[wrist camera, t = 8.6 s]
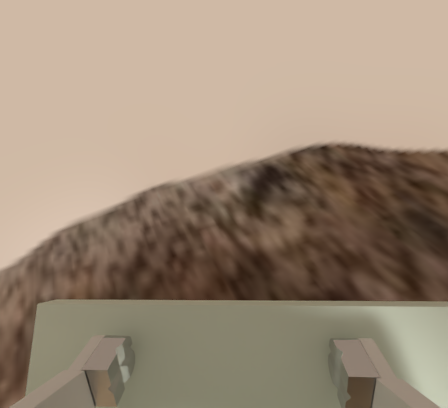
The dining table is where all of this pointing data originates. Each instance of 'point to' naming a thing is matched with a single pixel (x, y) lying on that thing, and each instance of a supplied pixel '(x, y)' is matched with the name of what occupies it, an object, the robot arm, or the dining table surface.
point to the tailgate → (242, 348)
